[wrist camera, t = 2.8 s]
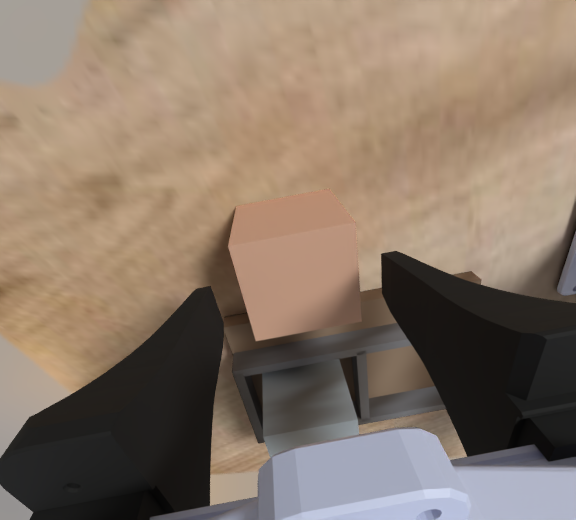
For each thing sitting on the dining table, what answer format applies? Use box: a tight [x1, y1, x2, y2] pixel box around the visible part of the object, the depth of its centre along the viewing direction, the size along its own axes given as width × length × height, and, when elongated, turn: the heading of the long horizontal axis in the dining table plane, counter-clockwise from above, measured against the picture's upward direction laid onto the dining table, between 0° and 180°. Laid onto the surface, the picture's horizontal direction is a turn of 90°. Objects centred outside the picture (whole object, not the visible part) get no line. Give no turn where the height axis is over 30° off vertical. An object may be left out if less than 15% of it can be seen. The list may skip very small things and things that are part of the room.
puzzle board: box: [224, 271, 481, 458], centre depth 19 cm, size 16×12×6 cm
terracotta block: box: [228, 189, 362, 341], centre depth 15 cm, size 5×5×5 cm
